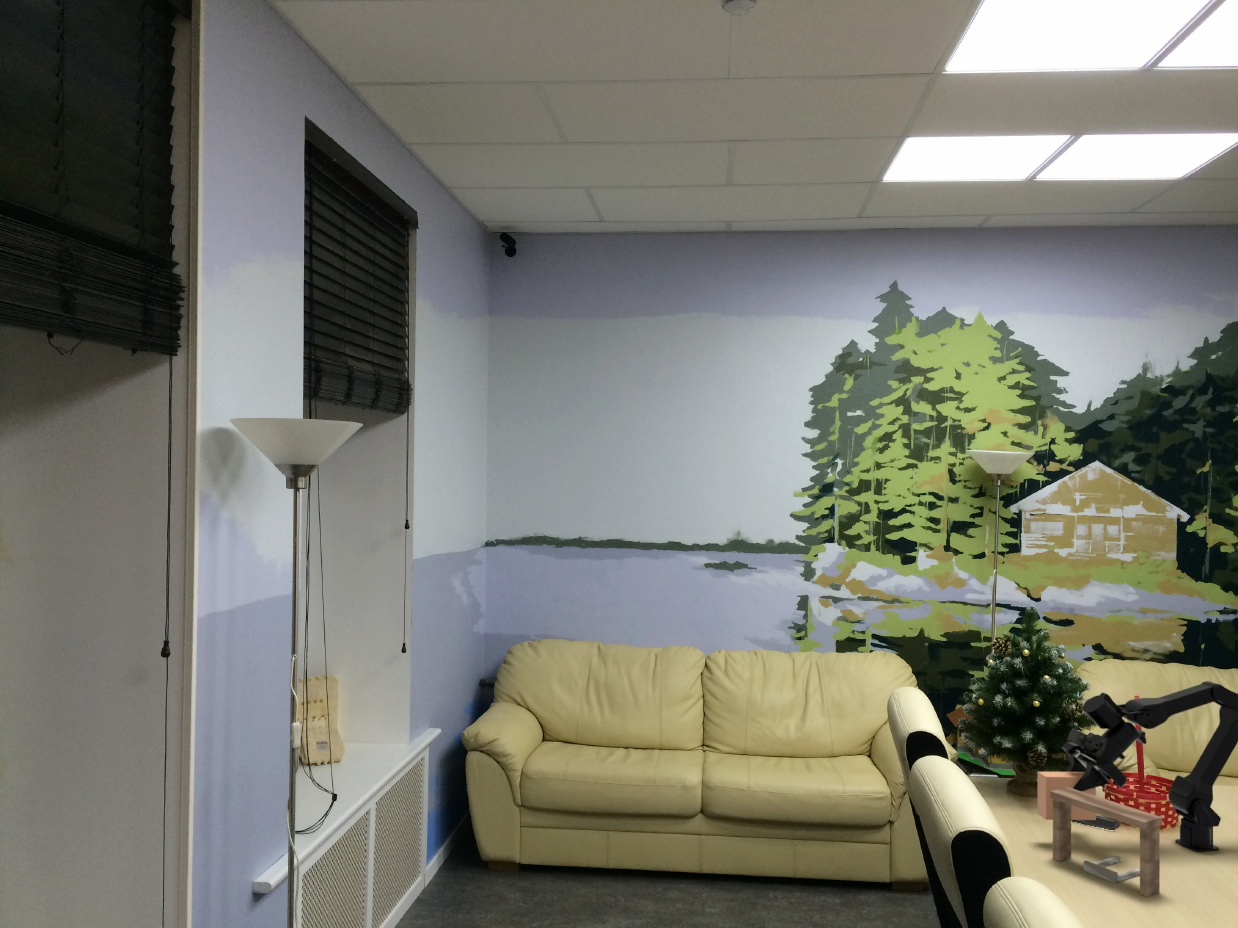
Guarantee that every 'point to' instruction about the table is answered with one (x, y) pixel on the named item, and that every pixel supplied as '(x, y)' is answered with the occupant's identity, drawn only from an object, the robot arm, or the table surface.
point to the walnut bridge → (1115, 811)
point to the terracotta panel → (1055, 782)
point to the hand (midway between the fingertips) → (1068, 788)
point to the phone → (1100, 823)
